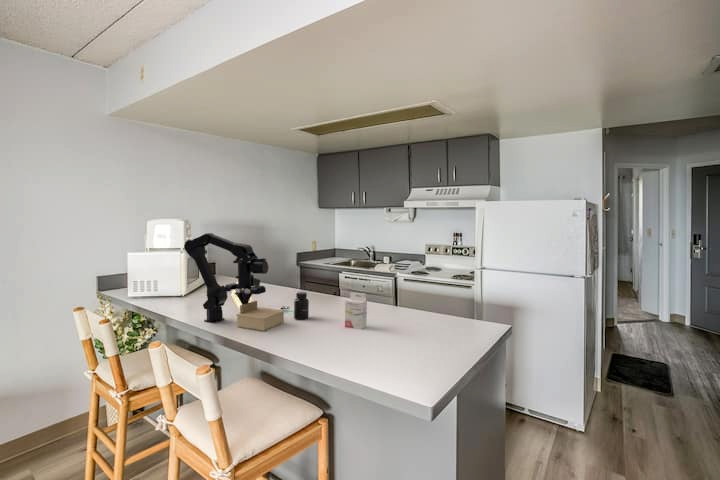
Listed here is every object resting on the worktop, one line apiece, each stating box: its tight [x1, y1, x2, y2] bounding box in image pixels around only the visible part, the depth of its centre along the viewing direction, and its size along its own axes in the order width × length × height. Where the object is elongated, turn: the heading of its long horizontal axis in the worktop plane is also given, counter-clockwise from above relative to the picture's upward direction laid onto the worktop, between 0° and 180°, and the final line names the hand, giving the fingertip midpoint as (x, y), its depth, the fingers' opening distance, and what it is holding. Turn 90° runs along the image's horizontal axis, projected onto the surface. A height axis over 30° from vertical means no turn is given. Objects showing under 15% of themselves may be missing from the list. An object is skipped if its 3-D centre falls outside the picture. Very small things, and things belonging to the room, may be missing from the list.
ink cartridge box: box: [344, 291, 368, 330], centre depth 162 cm, size 9×5×15 cm, turn 65°
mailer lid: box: [236, 300, 286, 320], centre depth 164 cm, size 15×15×4 cm
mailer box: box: [236, 312, 285, 333], centre depth 164 cm, size 14×14×5 cm
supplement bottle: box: [293, 291, 310, 321], centre depth 176 cm, size 7×7×12 cm
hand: (245, 307), depth 167 cm, fingers closed
